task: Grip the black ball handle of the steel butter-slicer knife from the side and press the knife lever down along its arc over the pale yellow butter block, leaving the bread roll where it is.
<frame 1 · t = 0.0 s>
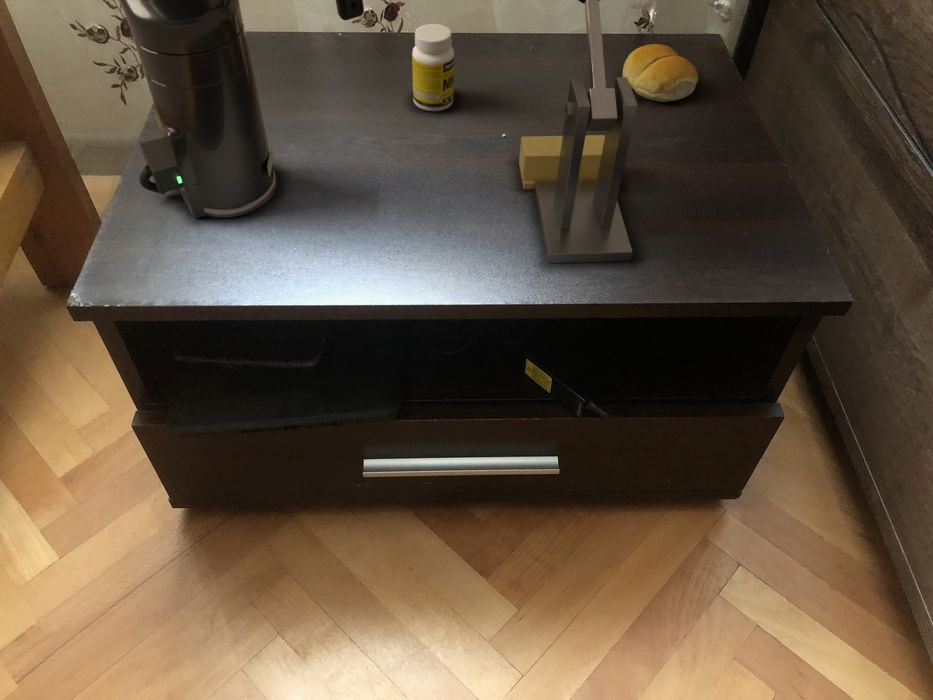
supplement bottle: (433, 102, 91), on the table
butter: (568, 175, 83), on the table
slicer: (579, 224, 78), on the table
bread roll: (657, 85, 95), on the table
knife lever: (595, 45, 69), point 16 cm above the table, hinge at 30.0°
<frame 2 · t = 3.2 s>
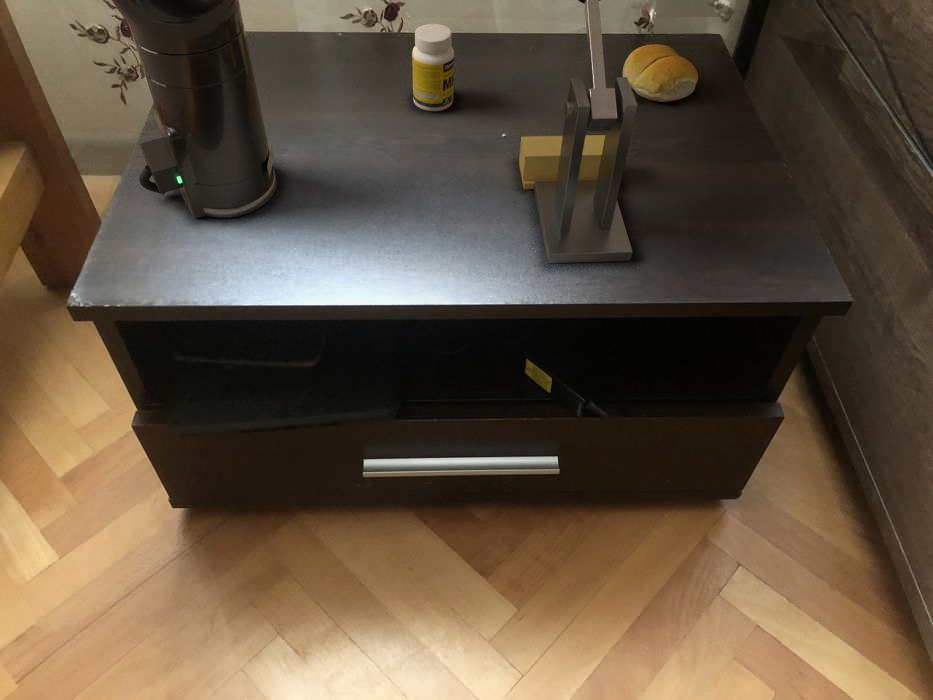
nothing on the table moved.
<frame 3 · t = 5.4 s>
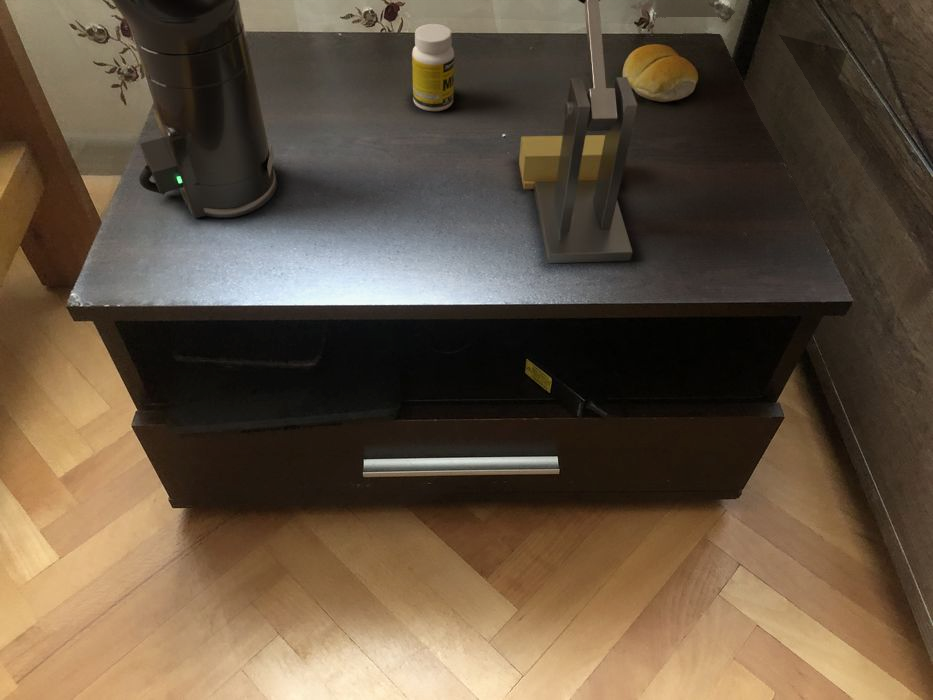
nothing on the table moved.
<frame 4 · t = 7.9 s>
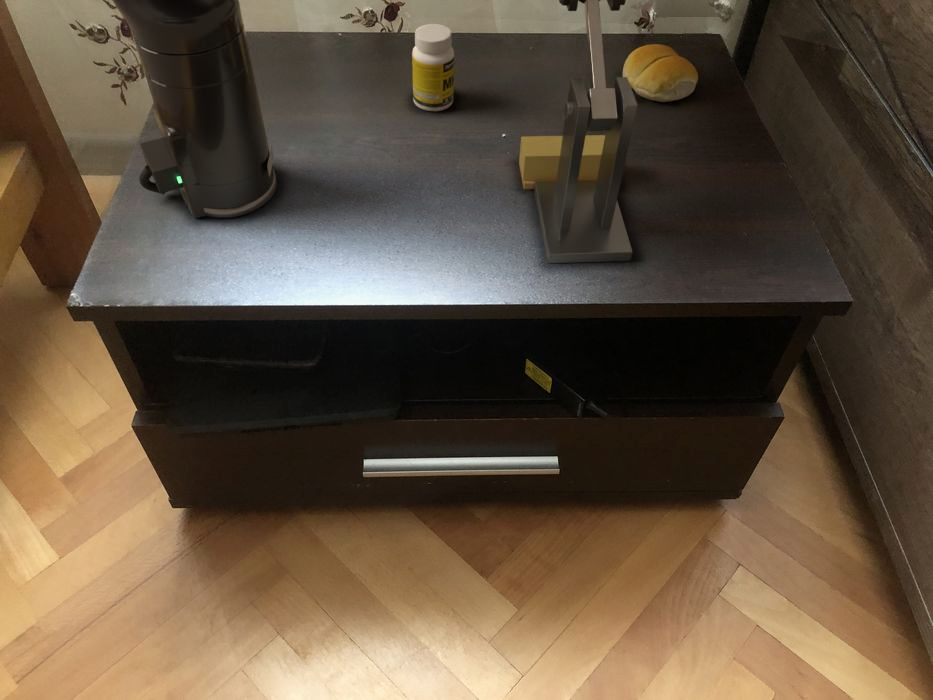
hand: (596, 0, 68), 19 cm above the table, tool horizontal, fingers closed on knife lever, 3 cm apart
knife lever: (595, 45, 69), point 16 cm above the table, hinge at 30.0°, touching gripper
everything else where it was.
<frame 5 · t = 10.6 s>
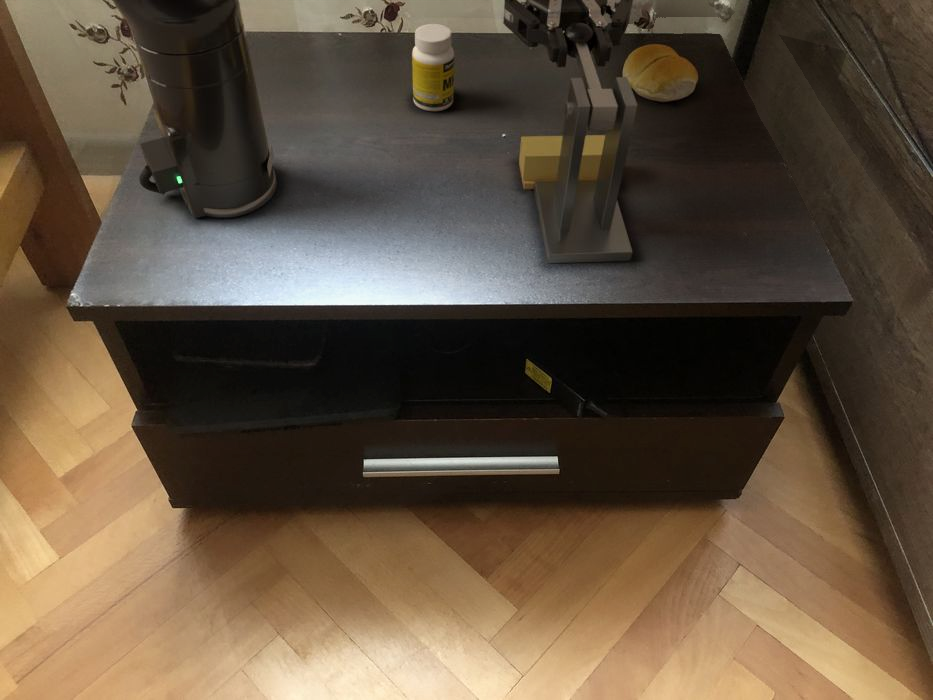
hand: (583, 57, 74), 13 cm above the table, tool horizontal, fingers closed on knife lever, 3 cm apart
knife lever: (588, 72, 72), point 13 cm above the table, hinge at -0.6°, touching gripper
everything else where it was.
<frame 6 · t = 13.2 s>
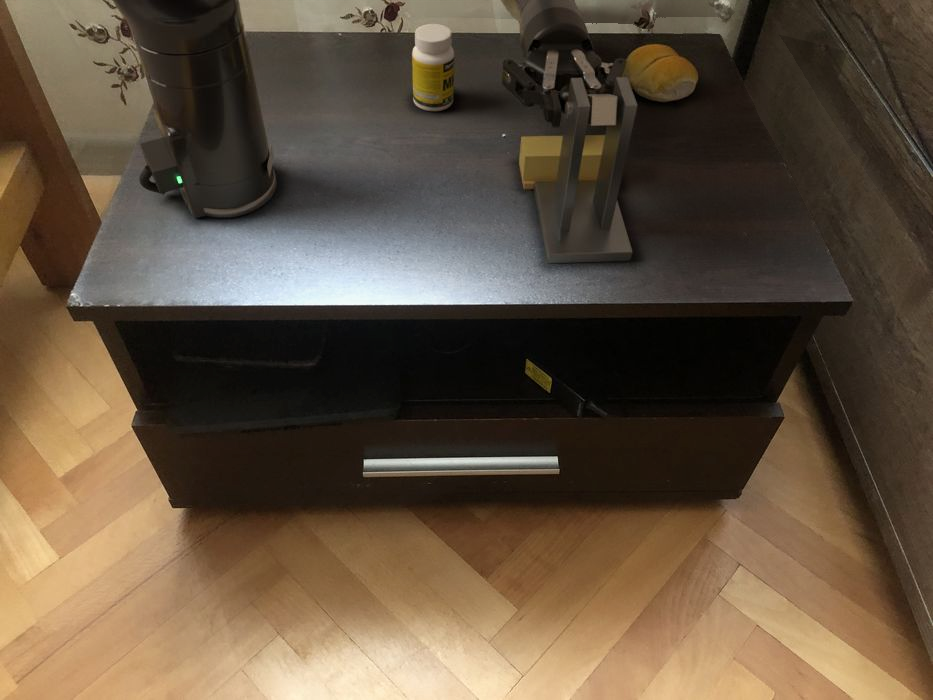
hand: (576, 118, 77), 7 cm above the table, tool horizontal, fingers open, 3 cm apart
knife lever: (585, 104, 73), point 10 cm above the table, hinge at -28.3°
everything else where it was.
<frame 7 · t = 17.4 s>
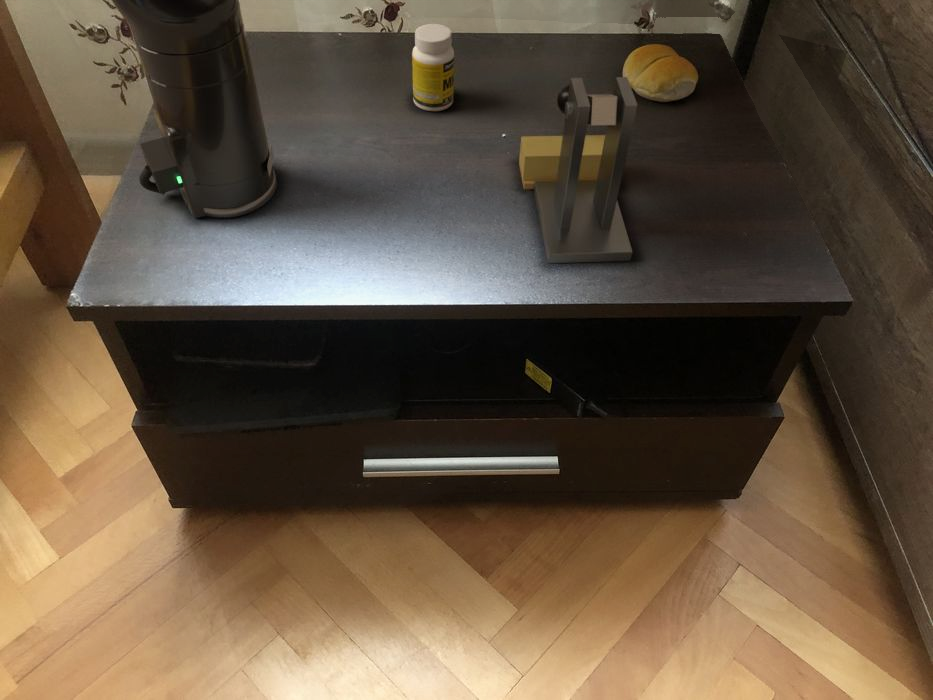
nothing on the table moved.
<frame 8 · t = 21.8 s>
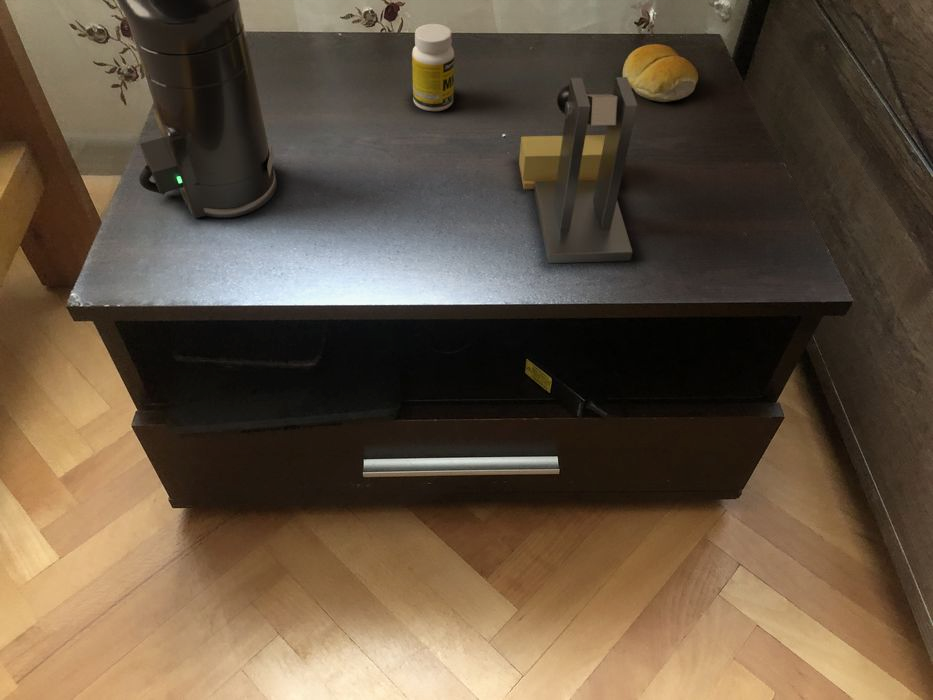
nothing on the table moved.
at the end: knife lever at -28° (first picture: +30°); bread roll moved 0.2 cm from its start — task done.
